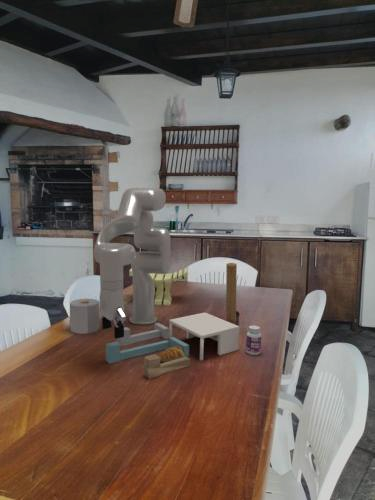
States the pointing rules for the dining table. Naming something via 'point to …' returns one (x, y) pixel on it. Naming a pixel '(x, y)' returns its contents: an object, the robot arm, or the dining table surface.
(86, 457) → the dining table surface
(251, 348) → the pill bottle
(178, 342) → the blue-grey long flat part
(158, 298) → the slatted curved stool
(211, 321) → the desk
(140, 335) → the tee stick
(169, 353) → the pastry
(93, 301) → the toilet paper roll
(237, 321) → the hammer
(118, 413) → the dining table surface
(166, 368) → the brown angular wooden piece
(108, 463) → the dining table surface
